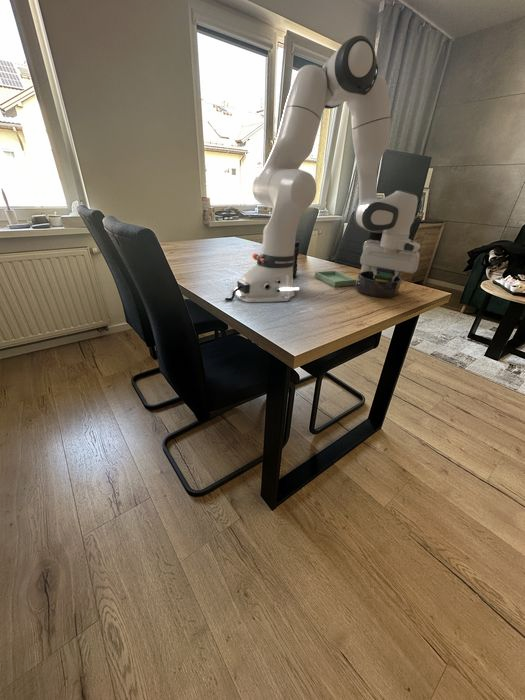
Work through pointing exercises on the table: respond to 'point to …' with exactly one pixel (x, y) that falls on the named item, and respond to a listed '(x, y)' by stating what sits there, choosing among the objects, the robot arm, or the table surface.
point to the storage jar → (296, 252)
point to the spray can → (372, 236)
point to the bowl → (377, 285)
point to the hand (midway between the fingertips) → (383, 280)
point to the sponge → (383, 277)
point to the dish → (335, 278)
